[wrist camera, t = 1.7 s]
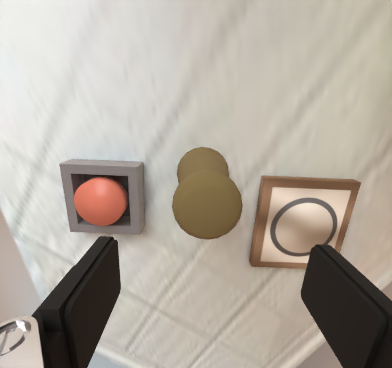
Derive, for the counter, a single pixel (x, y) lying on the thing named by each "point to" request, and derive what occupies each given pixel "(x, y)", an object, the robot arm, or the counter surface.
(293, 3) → the counter surface
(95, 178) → the button
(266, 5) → the counter surface
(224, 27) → the counter surface
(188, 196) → the olive gourd
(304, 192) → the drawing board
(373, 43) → the counter surface
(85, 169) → the button housing
